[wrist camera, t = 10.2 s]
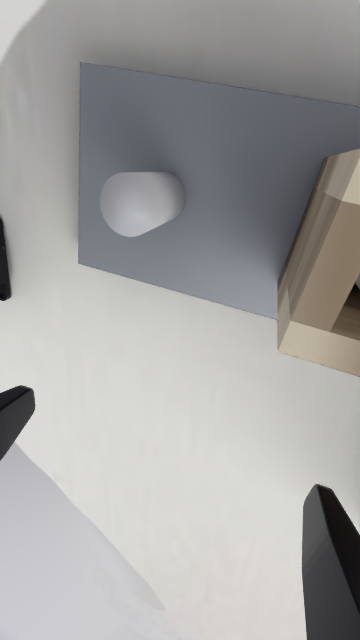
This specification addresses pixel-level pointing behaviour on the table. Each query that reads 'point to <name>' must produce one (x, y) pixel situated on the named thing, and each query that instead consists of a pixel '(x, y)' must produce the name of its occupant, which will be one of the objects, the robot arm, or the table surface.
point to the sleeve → (325, 272)
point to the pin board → (199, 181)
